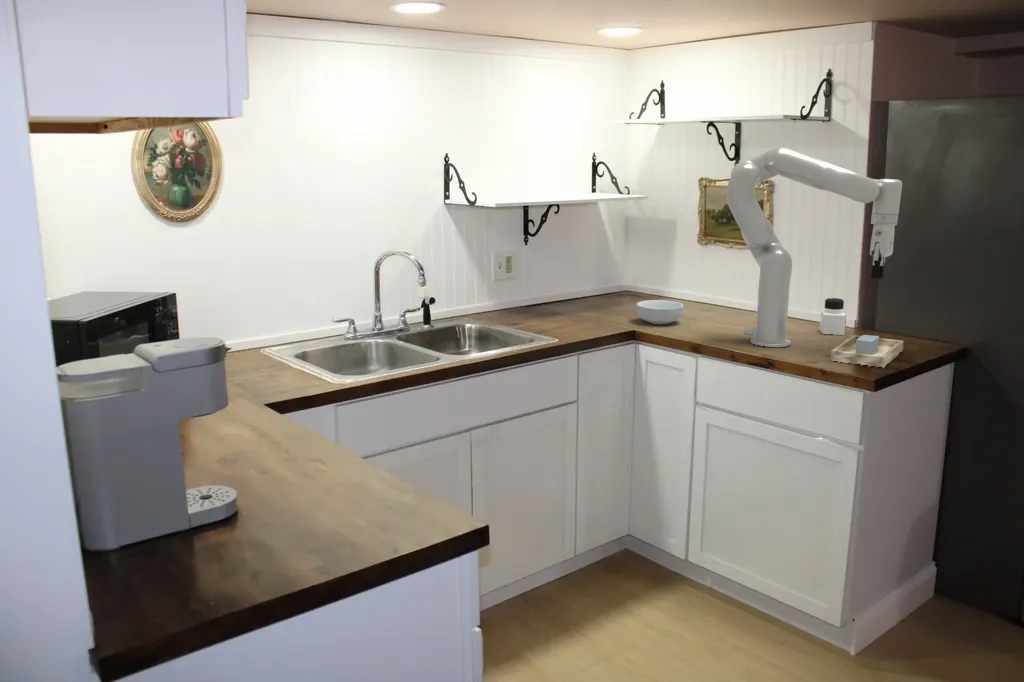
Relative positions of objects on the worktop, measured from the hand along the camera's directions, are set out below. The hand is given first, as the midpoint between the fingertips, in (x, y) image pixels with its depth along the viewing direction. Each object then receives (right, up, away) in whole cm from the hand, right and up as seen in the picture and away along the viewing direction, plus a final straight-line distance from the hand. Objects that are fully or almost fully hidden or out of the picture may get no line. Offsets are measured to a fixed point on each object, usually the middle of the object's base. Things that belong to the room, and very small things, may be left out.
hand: (876, 278), depth 264 cm
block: (-4, -20, -5) cm, 21 cm away
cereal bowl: (-61, -13, +45) cm, 76 cm away
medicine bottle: (-4, -17, +26) cm, 31 cm away
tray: (-6, -24, -7) cm, 26 cm away
